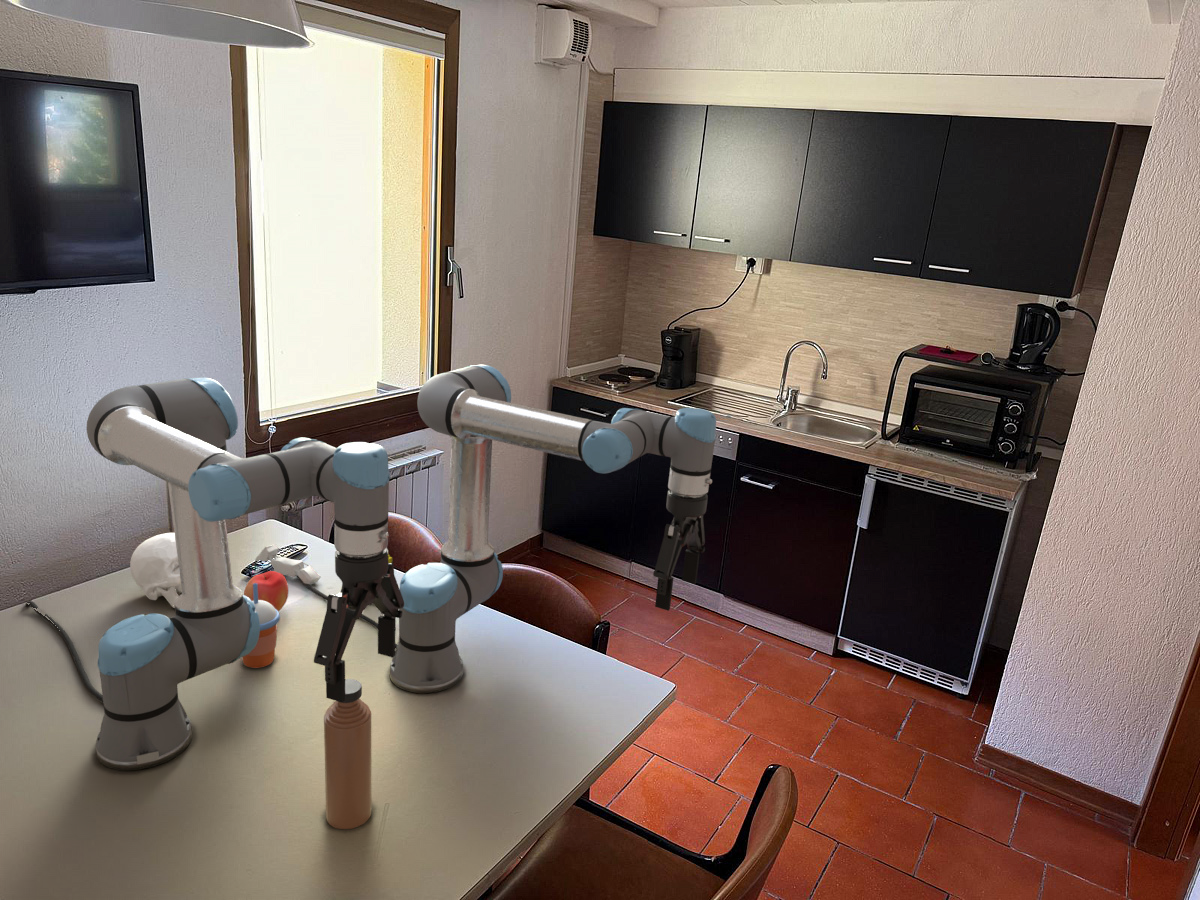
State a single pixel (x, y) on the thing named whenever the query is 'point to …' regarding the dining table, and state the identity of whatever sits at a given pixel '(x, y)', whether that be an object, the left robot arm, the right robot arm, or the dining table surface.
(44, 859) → the dining table surface
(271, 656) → the cup with straw
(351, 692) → the cap
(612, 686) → the dining table surface
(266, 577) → the apple
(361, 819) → the bottle
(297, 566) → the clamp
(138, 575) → the skull
